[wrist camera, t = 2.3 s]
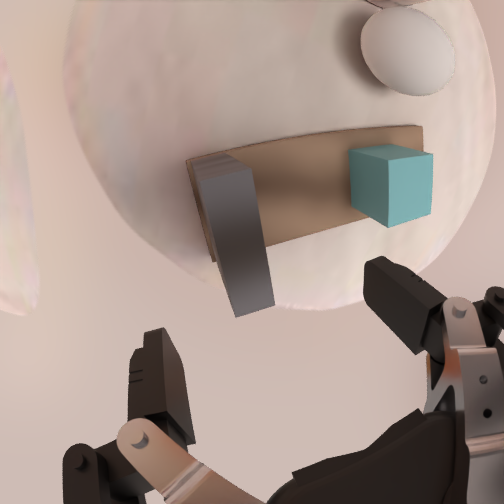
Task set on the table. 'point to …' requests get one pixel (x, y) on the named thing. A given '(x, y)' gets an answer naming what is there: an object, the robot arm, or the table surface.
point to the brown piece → (278, 200)
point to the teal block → (391, 183)
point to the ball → (408, 51)
